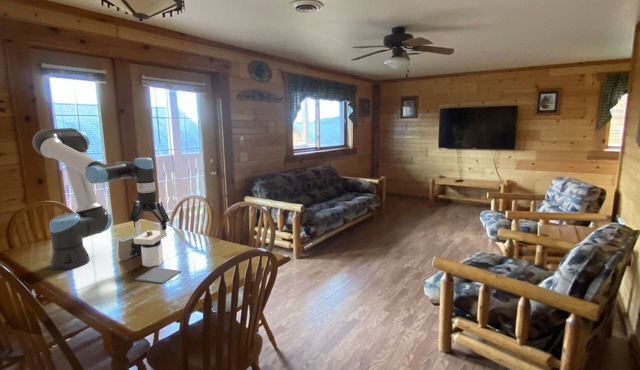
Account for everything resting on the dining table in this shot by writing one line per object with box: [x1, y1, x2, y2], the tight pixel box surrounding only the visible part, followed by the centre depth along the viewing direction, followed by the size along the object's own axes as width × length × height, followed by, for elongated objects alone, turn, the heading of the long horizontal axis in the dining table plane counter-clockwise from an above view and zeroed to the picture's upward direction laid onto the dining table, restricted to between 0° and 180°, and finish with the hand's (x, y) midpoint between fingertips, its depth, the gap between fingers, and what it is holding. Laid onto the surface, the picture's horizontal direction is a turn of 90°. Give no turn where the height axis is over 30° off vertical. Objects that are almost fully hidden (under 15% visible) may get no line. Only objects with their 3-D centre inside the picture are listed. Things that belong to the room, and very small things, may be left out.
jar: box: [140, 239, 164, 268], centre depth 164 cm, size 9×8×12 cm
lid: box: [132, 229, 168, 245], centre depth 163 cm, size 10×10×4 cm
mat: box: [134, 267, 182, 285], centre depth 152 cm, size 14×12×1 cm
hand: (151, 235), depth 163 cm, fingers open, 13 cm apart
